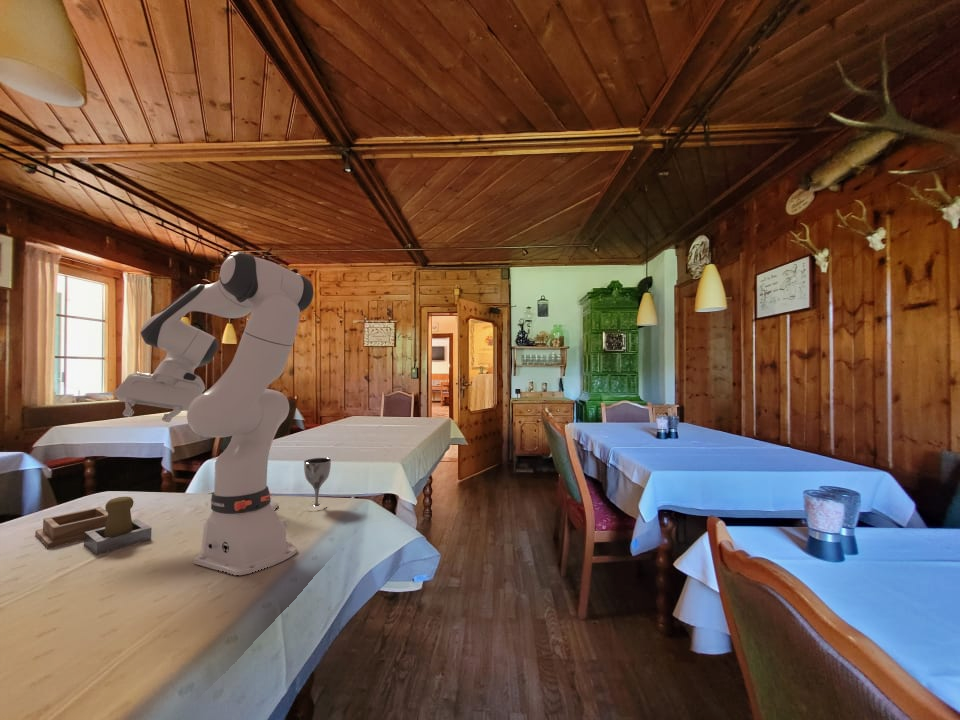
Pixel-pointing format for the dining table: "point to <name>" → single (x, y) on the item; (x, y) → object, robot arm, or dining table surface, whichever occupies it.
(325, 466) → the wine glass
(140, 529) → the socket block
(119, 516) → the cork
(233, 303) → the robot arm
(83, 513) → the walnut rack
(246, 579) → the dining table surface
